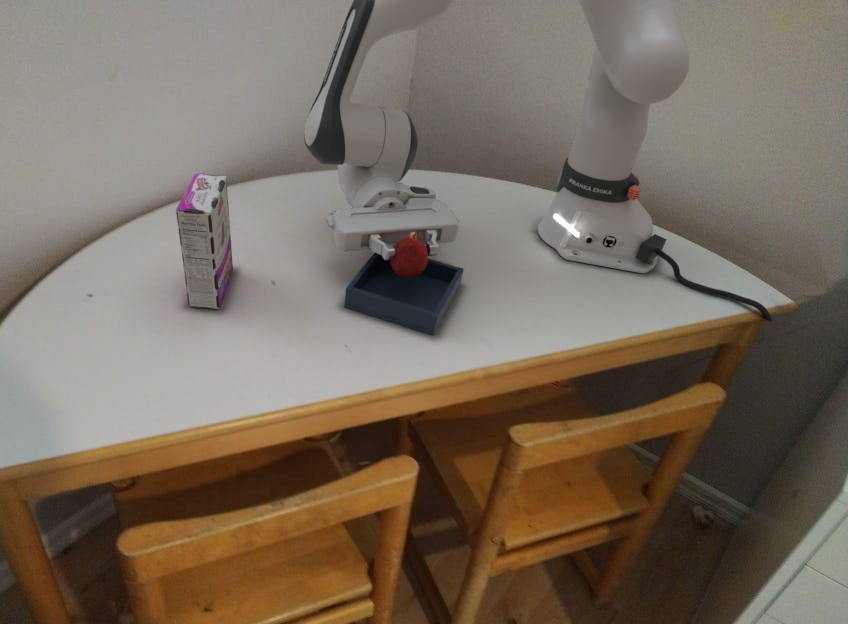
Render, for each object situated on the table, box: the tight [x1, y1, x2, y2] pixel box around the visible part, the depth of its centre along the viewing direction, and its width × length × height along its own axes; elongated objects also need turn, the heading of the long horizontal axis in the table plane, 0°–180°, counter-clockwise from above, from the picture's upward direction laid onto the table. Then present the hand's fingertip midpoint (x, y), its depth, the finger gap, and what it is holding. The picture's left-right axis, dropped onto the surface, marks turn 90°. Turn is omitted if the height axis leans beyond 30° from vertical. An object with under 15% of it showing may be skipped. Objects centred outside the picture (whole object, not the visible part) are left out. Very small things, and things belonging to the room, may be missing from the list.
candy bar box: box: [175, 173, 234, 310], centre depth 94 cm, size 11×5×16 cm, turn 179°
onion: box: [390, 232, 429, 279], centre depth 97 cm, size 6×6×8 cm
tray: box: [344, 252, 464, 336], centre depth 101 cm, size 15×15×4 cm
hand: (412, 253), depth 96 cm, fingers closed on onion, 6 cm apart
